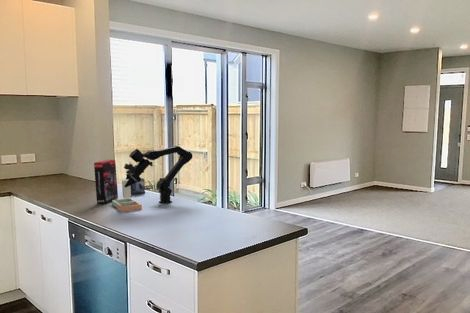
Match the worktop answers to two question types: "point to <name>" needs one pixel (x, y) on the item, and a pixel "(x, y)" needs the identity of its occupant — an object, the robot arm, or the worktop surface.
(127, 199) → the frame
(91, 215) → the worktop surface
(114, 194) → the graphics card box
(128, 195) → the cream rectangular block
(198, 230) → the worktop surface
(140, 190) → the small box
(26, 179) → the worktop surface
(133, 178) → the robot arm
